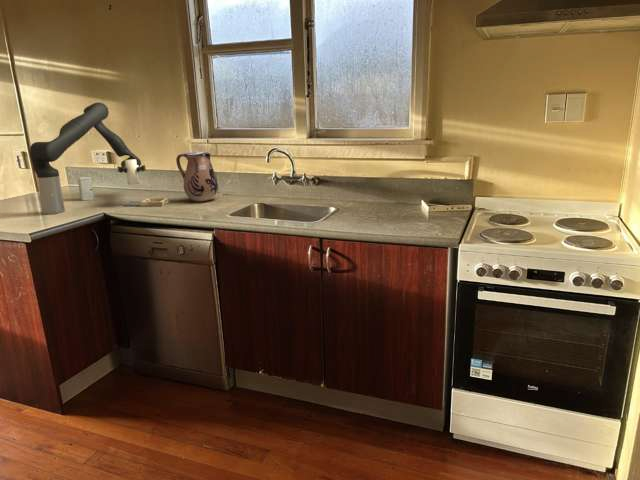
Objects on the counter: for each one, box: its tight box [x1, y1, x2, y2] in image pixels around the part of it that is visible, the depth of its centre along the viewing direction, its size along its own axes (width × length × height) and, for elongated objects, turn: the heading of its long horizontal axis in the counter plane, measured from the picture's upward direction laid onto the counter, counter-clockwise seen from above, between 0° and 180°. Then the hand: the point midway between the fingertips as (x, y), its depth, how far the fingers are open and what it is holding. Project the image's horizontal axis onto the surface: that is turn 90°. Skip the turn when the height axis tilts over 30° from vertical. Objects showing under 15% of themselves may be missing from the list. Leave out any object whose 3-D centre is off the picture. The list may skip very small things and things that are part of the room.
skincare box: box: [77, 176, 95, 201], centre depth 258 cm, size 6×4×12 cm
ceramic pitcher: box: [175, 151, 219, 202], centre depth 249 cm, size 18×21×25 cm
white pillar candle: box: [124, 159, 140, 185], centre depth 239 cm, size 5×5×12 cm
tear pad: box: [122, 200, 143, 208], centre depth 244 cm, size 10×9×1 cm
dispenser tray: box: [139, 197, 170, 208], centre depth 243 cm, size 11×11×2 cm
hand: (131, 170), depth 236 cm, fingers closed on white pillar candle, 5 cm apart
